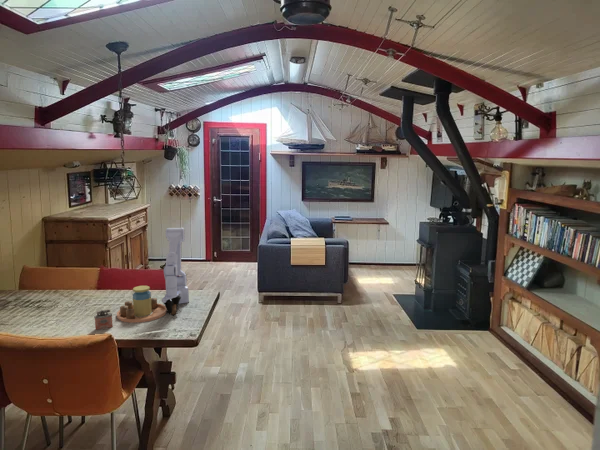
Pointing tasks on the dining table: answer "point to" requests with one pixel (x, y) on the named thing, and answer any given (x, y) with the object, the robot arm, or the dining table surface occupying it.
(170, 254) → the robot arm
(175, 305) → the bead
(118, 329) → the dining table surface
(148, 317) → the dish
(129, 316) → the seated bead
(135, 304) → the jar
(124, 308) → the seated bead
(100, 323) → the lighter
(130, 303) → the seated bead
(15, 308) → the dining table surface
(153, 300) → the bead
